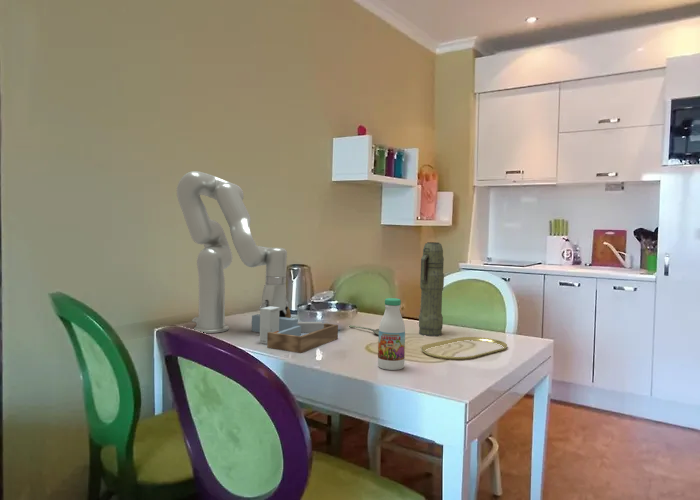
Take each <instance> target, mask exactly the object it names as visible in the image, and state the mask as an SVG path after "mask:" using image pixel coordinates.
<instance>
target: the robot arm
mask: <svg viewBox="0 0 700 500" xmlns="http://www.w3.org/2000/svg"><path fill="white" fill-rule="evenodd" d="M244 194H245V193H244V191H243V189H242V187H240V186H239V185H238V184H236V183H234V182H233V183H232V182H230V181H228V180H225V179H222V178H220V177H218V176H215V175H213V174H210V173H206V172H202V171H199V170H192V171H189V172H187V173H185V174H183V176H182V177H181V178H180V180H179V181H178V184H177V186H176V197H177V201H178V204H179V207H180V209H181V213H182V215H183V217H184V221H185V224H186V227H187V229H188V233H189V235H190V237H191V239H192V241H193V242H194V243H196V244H197V245H203V247H204V248H203V249H202V250H200V252H199V253H198V254H197V258H196V266H197V267H196V268H197V275H198V316H195V317H193V318H192V319H191V323H196V326H194V328H193V330H194V329H195V330H198V331H201V332H204V333H203V334H215V333H216V334H217V333H222V332H227V331H228V330H229V328H230V327H229V325H227V324H225V318H226V317H225V313H226V312H225V307H226V306H225V304H226V301H225V299H226V296H225V295H226V283H225V282H226V280H225V279H226V278H225V272H224V270H225V269H227V268H229V267H230V266H231V264H232V262H233V254H232V253H233V252H232V249H231V247H230V245H229V241H228V239H227V236H226V233H225V231H224V228H223V226H222V225H221V224H220V223H219V222H218V221H216V220H214V219H211V218H210V216H209V214H208V211H207V208H206V205H205V204H204V202H203V200H202V198H201V196H205V197H208V198H211V199H213V200H216V202H217V204H218V206H219V208H220V210H221V212H222V214H223V216H224V218H225V220H226V222H227V225H228V226H229V231H230V236H231V240H232V244H233V246H234V249H235V250H236V253H237V254H238V256H239V259H241V262H242V263H243V264H244V265H245V266H246V267H248V268H256V267H261V266H265V280H264V281H265V284H264V286H263V289H262V296H261V305H260V306H259V307H258V309H259V310H260V309H261V308H265V307H269V306H272V307H279V308H280V311H279V313H280V314H279V317H285V316H286V315H285V314H286V313H287V312H286V311H287V309H288V307H289V303H290V302H289V300H287V287H286V285H287V284H286V283H287V265H288V264H287V262H288V261H287V260H288V259H287V258H288V252H287V250H286V248H283V247H267V246H262V245H257V243H256V241H255V239H254V238H253V237H254V236H253V235H252V231H251V221H252V220H251V219H252V218H251V215H250V213H249V211H248V209H247V207H246V205H245V202H244V201H243V199H244V197H245V196H244ZM195 330H194V331H195ZM201 332H200V333H201Z"/></svg>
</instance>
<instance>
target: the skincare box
mask: <svg viewBox="0 0 700 500" xmlns="http://www.w3.org/2000/svg"><path fill="white" fill-rule="evenodd" d="M279 311H280V308H279V307H272V306H269V307H265V308H261V309H259V313H260V332H259V340H258V341H259V343H260V344H265V345H267V333H268V332H274V333H277V332H279Z"/></svg>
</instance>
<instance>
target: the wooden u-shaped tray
mask: <svg viewBox="0 0 700 500" xmlns="http://www.w3.org/2000/svg"><path fill="white" fill-rule="evenodd" d="M338 337H339V325H338V324H335V323H329V324H327V323H325V324H324V328H323V329H320V330H317V331H314V332H311V333H305V334H303V335H300V336H295V335H288V334H281V333H274V332H268V333H267V344H266V346H267V347H266V348H267V349H274V350H280V351H281V350H282V351H285V352H286V351H288V352H293V353H300V354H301V353H304V352H307V351H310V350H313V349H315V348H317V347H320V346H322V345H325V344H328V343H330V342H333V341H335V340H337V339H339V338H338Z"/></svg>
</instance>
